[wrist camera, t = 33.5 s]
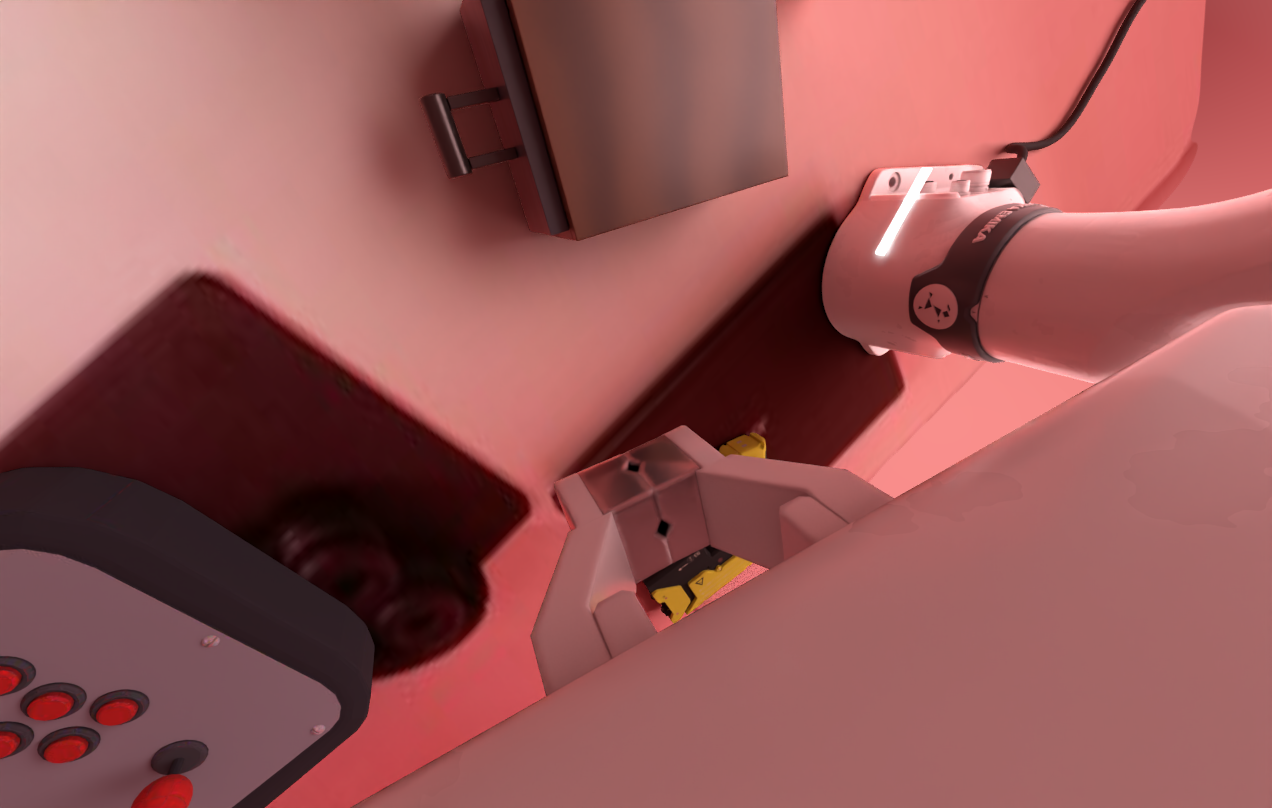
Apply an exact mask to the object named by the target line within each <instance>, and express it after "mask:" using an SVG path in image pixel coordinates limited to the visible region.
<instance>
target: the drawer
mask: <svg viewBox="0 0 1272 808" xmlns="http://www.w3.org/2000/svg"><path fill="white" fill-rule="evenodd" d="M460 14H461V17H462V20H463V23H464V26H465V29H466V33H467V36H468V39H469V42H470V45H471V48H472V51H473V54H474V58H475V61H476V64H477V67H478V70H479V73H480V76H481V79H482V83H483V86H484V89H483V90H478V91H474V92H469V93H464V94H459V95H454V96H449V97H447V98H446V96H445V94H443V93H435V94H430V95H426V96H423V97H421V98H420V99H419V102H420V104H421V107H422V110H423V112H424V115H425V117H426V120H427V123H428V125H429V128H430V131H431V133H432V136H433V139H434V141H435V144H436V147H437V149H438V152H439V154H440V157H441V160H442V162H443V165H444V168H445V170H446V173H447V176H448V178H449V179H454V178H458V177H462V176H466V175H470V174H472V170H473V169H477V168H481V167H485V166H489V165H493V164H497V163H501V162H505V161H508V164H509V167H510V170H511V173H512V176H513V180H514V183H515V186H516V189H517V192H518V195H519V198H520V201H521V205H522V208H523V211H524V214H525V217H526V220H527V223H528V226H529V230H530V231H531V232H536V233H541V234H546V235H551V236H552V235H556V234H559V233H562V232H566V231H569V226H568V223H567V219H566V216H565V212H564V211H565V208H564V205H563V201H562V197H561V194H560V190H559V187H558V183H557V180H556V176H555V173H554V169H553V165H552V162H551V158H550V155H549V151H548V148H547V144H546V140H545V137H544V133H543V130H542V126H541V123H540V119H539V116H538V112H537V108H536V105H535V101H534V98H533V94H532V91H531V87H530V83H529V80H528V76H527V73H526V69H525V66H524V62H523V59H522V55H521V51H520V48H519V44H518V41H517V37H516V34H515V30H514V27H513V23H512V19H511V16H510V12H509V13H508V10H507V6H506V3H505V0H462V4H461V8H460ZM487 103H489V104H490V108H491V111H492V114H493V117H494V120H495V123H496V126H497V129H498V133H499V136H500V139H501V142H502V145H503V148H504V149H503V150H499V151H495V152H491V153H487V154H483V155H479V156H474V157H470V158H467V155H466V152H465V149H464V147H463V144H462V141H461V138H460V135H459V133H458V130H457V127H456V124H455V121H454V118H453V116H452V113H451V111H454V110H458V109H463V108H468V107H473V106H477V105H482V104H487Z"/></svg>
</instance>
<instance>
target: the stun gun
mask: <svg viewBox="0 0 1272 808" xmlns="http://www.w3.org/2000/svg"><path fill="white" fill-rule="evenodd" d="M719 452H720V453H721V454H722V455H724V456H725V457H726V456H728V455H730V454H735V455H742V456H749V457H757V458H764V459H767V457H766V442H765V439H764V438H763V437H761V436H760V435H758V434H756V433H750V435H749V436H747V435H742V436H740V437H738V438H736V439H733V440H731V441H729V442H727V443H726V446H725V445H722V446H721V447H720V449H719ZM751 564H752V562H750V561H747V560H745V559H742V558H740V557H737V556H735V555H732V554H729V553H727V552H724V551H722V550H719V549H717V548H714V547H712V546H711V544H710V545H708V546H706V547H704V548H702V549H700V550H698V551H696V552H694V553H692V554H690V555H688V556H686V557H684V558H682V559H680V560H678V561H676V562H674V563H672V564H670V565H669V566H667V567H665V568H663V569H662V570H660V571H658V572H656V573H654V574H653V575H651V576H649V577H647V578H646V579H644V580H642V581H643V582H644V584H645V585H646V587H647V588H648V590H649V593H650V594H651V595H650V596H651V598H652V599H654V600H656V601H657V602H658V603H661V605H662V606H661V611H662V612H663V613H665V615H666V616H669V618H670V619H671V621H672V622H673V623H676V622H677V621H678V620H680V619H681V617H682V616H683V614H684V612H685V613H686V614H687V615H688V614H689V613H690V612H692V611H693V610H694V609H695V608H697V607H698V606H699V605H700V604H702V603H703V601H704V600H707V599H708V598H709V597H711V596H712V595H713V594H714V593H716V592H717V591H718V590H719V589H721V588H722V587H723V586H724V585H726V584H727V583H728V582H730V581H731V580H732V579H733V578H735V577H736V576H737V575H738V574H740V573H741V572H742V571H743V570H745V569H746V568H747V566H750V565H751Z"/></svg>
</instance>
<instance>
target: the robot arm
mask: <svg viewBox="0 0 1272 808" xmlns="http://www.w3.org/2000/svg"><path fill="white" fill-rule="evenodd" d="M1145 2H1146V0H1136V2H1135V3H1134V5H1133V6H1132V8H1131V9H1130V11H1129V13H1128V14H1127V16H1126V18H1125V20H1124V21H1123V23H1122V25H1121V27H1120V29H1119V31H1118V33H1117V35H1116V37H1115V39H1114V41H1113V43H1112V45H1111V47H1110V49H1109V51H1108V53H1107V55H1106V57H1105V58H1104V60H1103V62H1102V64H1101V66H1100V67H1099V69H1098V71H1097V72H1096V74H1095V76H1094V77H1093V79H1092V81H1091V82H1090V84H1089V86H1088V87H1087V89H1086V91H1085V93H1084V94H1083V96H1082V98H1081V100H1080V102H1079V103H1078V105H1077V107H1076V108H1075V110H1074V111H1073V113H1072V115H1071V116H1070V117H1069V119H1068V120H1067V122H1066V123H1065V124H1064V125H1063V126H1062V127H1061V128H1060V129H1059V130H1058V131H1057V132H1056V133H1055V134H1054V135H1052V136H1051V137H1050V138H1048V139H1045V140H1042V141H1038V142H1028V143H1012V144H1010V145H1008V146H1007V147H1006V150H1005V151H1006V152H1007V153H1016V154H1017V158H1008V159H995V160H992V161H991V162H990V164H989V166H988V167H987V169H984V168H983V167H982V166H981V165H946V166H921V167H897V168H878V169H875V170H874V171H873V172H872V173H871V174H870V175H869V177H868V179H867V181H866V183H865V186H864V188H863V190H862V193H861V196H860V198H859V201H858V203H857V204H856V206H855V207H854V209H853V210H852V211H851V213H850V214H849V215H848V217H847V218H846V219H845V220H844V222H843V223H842V225H841V226H840V228H839V229H838V231H837V233H836V235H835V237H834V239H833V241H832V243H831V246H830V248H829V251H828V254H827V257H826V261H825V265H824V270H823V277H822V298H823V304H824V308H825V312H826V314H827V317H828V319H829V321H830V322H831V324H832V325H833V327H834V328H835V329H836V330H837V331H838V332H840V333H841V334H842V335H844V336H846V337H849V338H852V339H855V340H857V341H858V342H860V344H861V345H862V347H863V348H864V349H865V350H866V352H868V353H869V354H872V355H877V356H880V355H883V354H884V353H886V352H887V351H888V350H895V351H900V352H904V353H909V354H915V355H920V356H925V357H930V358H936V359H940V358H944V357H945V356H946V355H949V354H951V353H954V354H958V355H961V356H964V357H965V358H969V359H973V360H978V361H980V360H981V361H988V362H993V363H1000V362H1005V361H1008V362H1012V363H1016V364H1020V365H1024V366H1028V367H1032V368H1036V369H1039V370H1043V371H1047V372H1051V373H1055V374H1059V375H1063V376H1067V377H1071V378H1075V379H1079V380H1083V381H1087V382H1091V383H1095V385H1093V386H1091V387H1089V388H1088V389H1086V390H1084V391H1082V392H1081V393H1079V394H1077V395H1075V396H1074V397H1072V398H1070V399H1068V400H1066V401H1065V402H1063V403H1061V404H1059V405H1058V406H1056V407H1054V408H1052V409H1051V410H1049V411H1047V412H1045V413H1044V414H1042V415H1040V416H1038V417H1037V418H1035V419H1033V420H1031V421H1030V422H1028V423H1026V424H1024V425H1022V426H1021V427H1019V428H1017V429H1015V430H1014V431H1012V432H1010V433H1008V434H1007V435H1005V436H1003V437H1001V438H1000V439H998V440H996V441H994V442H993V443H991V444H989V445H987V446H986V447H984V448H982V449H980V450H979V451H977V452H975V453H973V454H972V455H970V456H968V457H967V458H965V459H963V460H961V461H959V462H958V463H956V464H954V465H952V466H951V467H949V468H947V469H945V470H944V471H942V472H940V473H938V474H937V475H935V476H933V477H932V478H930V479H928V480H926V481H924V482H923V483H921V484H919V485H917V486H916V487H914V488H912V489H910V490H908V491H907V492H905V493H903V494H901V495H900V496H898V497H896V498H892V497H891V496H889V495H888V494H886V493H884V492H883V491H881V490H879V489H878V488H876V487H874V486H873V485H871V484H869V483H868V482H866V481H865V480H863V479H861V478H860V477H858V476H856V475H855V474H853V473H851V472H850V471H848V470H846V469H838V468H831V467H824V466H816V465H809V464H801V463H794V462H787V461H779V460H772V459H764V458H757V457H749V456H742V455H735V454H730V455H728V456H726V457H725V456H724V455H722V454H721V453H720V452H718V451H717V450H716V449H715V448H713V447H712V446H711V445H710V444H708V443H707V442H706V441H705V440H703V439H702V438H701V437H699V436H698V435H697V434H696V433H694V432H693V431H692V430H691V429H689V428H688V427H687V426H680V427H678V428H676V429H674V430H672V431H670V432H668V433H666V434H664V435H662V436H660V437H658V438H656V439H654V440H652V441H649V442H647V443H645V444H643V445H641V446H639V447H637V448H635V449H633V450H630V451H628V452H626V453H624V454H620V455H618V456H616V457H613V458H611V459H608V460H606V461H604V462H601V463H599V464H597V465H594V466H592V467H589V468H587V469H585V470H582V471H580V472H578V473H577V474H576V473H575V474H573V475H570V476H568V477H566V478H564V479H562V480H559V481H557V482H555V483H553V484H554V488H555V491H556V493H557V496H558V499H559V501H560V504H561V506H562V509H563V512H564V514H565V517H566V519H567V522H568V524H569V527H570V529H571V531H570V532H568V535H567V538H566V541H565V543H564V546H563V549H562V551H561V554H560V557H559V560H558V562H557V565H556V568H555V570H554V573H553V576H552V579H551V581H550V584H549V587H548V589H547V592H546V595H545V598H544V600H543V603H542V606H541V609H540V611H539V614H538V617H537V619H536V622H535V625H534V628H533V630H532V633H531V640H532V643H533V647H534V651H535V655H536V659H537V663H538V666H539V670H540V674H541V678H542V682H543V685H544V689H545V693H546V697H544V698H542V699H541V700H539V701H537V702H535V703H534V704H532V705H530V706H528V707H527V708H525V709H523V710H521V711H520V712H518V713H516V714H514V715H513V716H511V717H509V718H507V719H505V720H504V721H502V722H500V723H498V724H497V725H495V726H493V727H491V728H490V729H488V730H486V731H484V732H483V733H481V734H479V735H477V736H476V737H474V738H472V739H470V740H469V741H467V742H465V743H463V744H462V745H460V746H458V747H456V748H454V749H453V750H451V751H449V752H447V753H446V754H444V755H442V756H440V757H439V758H437V759H435V760H433V761H432V762H430V763H428V764H426V765H425V766H423V767H421V768H419V769H418V770H416V771H414V772H412V773H410V774H409V775H407V776H405V777H403V778H402V779H400V780H398V781H396V782H395V783H393V784H391V785H389V786H388V787H386V788H384V789H382V790H381V791H379V792H377V793H375V794H374V795H372V796H370V797H368V798H366V799H365V800H363V801H361V802H359V803H358V804H356V805H354V806H352V807H351V808H1272V189H1269V190H1266V191H1263V192H1260V193H1256V194H1253V195H1249V196H1244V197H1241V198H1236V199H1232V200H1228V201H1223V202H1218V203H1213V204H1208V205H1202V206H1194V207H1186V208H1177V209H1164V210H1151V211H1133V212H1109V213H1064V212H1063V211H1061V210H1059V209H1057V208H1052V207H1048V206H1045V205H1041V204H1033V203H1029V202H1030V201H1031V199H1032V197H1033V196H1034V194H1035V192H1036V191H1037V189H1038V188H1039V186H1040V183H1039V182H1038V180H1037V179H1036V177H1035V176H1034V174H1033V172H1032V171H1031V169H1030V168H1029V166H1028V165H1027V163H1026V159H1027V156H1028V151H1031V150H1038V149H1042V148H1045V147H1047V146H1049V145H1051V144H1053V143H1055V142H1057V141H1058V140H1059V139H1061V138H1062V137H1063V136H1064V135H1065V134H1066V133H1067V132H1068V131H1069V130H1070V129H1071V127H1072V126H1073V125H1074V124H1075V122H1076V121H1077V119H1078V118H1079V116H1080V115H1081V113H1082V112H1083V110H1084V108H1085V107H1086V105H1087V103H1088V102H1089V100H1090V98H1091V96H1092V95H1093V93H1094V91H1095V89H1096V88H1097V86H1098V84H1099V83H1100V81H1101V79H1102V78H1103V76H1104V74H1105V73H1106V71H1107V69H1108V68H1109V66H1110V64H1111V62H1112V61H1113V59H1114V57H1115V55H1116V53H1117V51H1118V49H1119V47H1120V45H1121V43H1122V41H1123V39H1124V37H1125V35H1126V33H1127V31H1128V30H1129V28H1130V26H1131V24H1132V22H1133V20H1134V19H1135V17H1136V15H1137V14H1138V12H1139V10H1140V9H1141V7H1142V6H1143V4H1144V3H1145ZM710 544H711V546H712V547H714V548H717V549H719V550H722V551H724V552H727V553H729V554H732V555H735V556H737V557H740V558H742V559H745V560H747V561H750V562H752V563H755V564H757V565H760V566H763V567H765V568H768V569H769V570H767V571H766V572H764V573H762V574H760V575H759V576H757V577H755V578H753V579H752V580H750V581H748V582H746V583H745V584H743V585H741V586H739V587H738V588H736V589H734V590H732V591H731V592H729V593H727V594H725V595H723V596H722V597H720V598H718V599H716V600H715V601H713V602H711V603H709V604H708V605H706V606H704V607H702V608H701V609H699V610H697V611H695V612H694V613H692V614H690V615H688V616H687V617H685V618H683V619H681V620H680V621H678V622H676V623H674V624H673V625H671V626H669V627H667V628H666V629H664V630H662V631H660V632H659V633H657V631H656V629H655V628H654V626H653V624H652V623H651V621H650V619H649V618H648V616H647V614H646V612H645V611H644V609H643V607H642V606H641V604H640V602H639V600H638V599H637V597H636V584H637V583H639V582H640V581H642V580H644V579H646V578H647V577H649V576H651V575H653V574H654V573H656V572H658V571H660V570H662V569H663V568H665V567H667V566H669V565H670V564H672V563H674V562H676V561H678V560H680V559H682V558H684V557H686V556H688V555H690V554H692V553H694V552H696V551H698V550H700V549H702V548H704V547H706V546H708V545H710Z"/></svg>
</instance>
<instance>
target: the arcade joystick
mask: <svg viewBox="0 0 1272 808" xmlns="http://www.w3.org/2000/svg"><path fill="white" fill-rule="evenodd" d="M373 661H374V643H373V640H372V638H371V636H370V633H369V631H368V628H367V626H366V624H365V623H364V622H363V621H362V620H361V619H360V618H359V617H358V616H357V615H356V614H355V613H354V612H353V611H351V610H350V609H349V608H348V607H347V606H346V605H344V604H343V603H341V602H340V601H338V600H337V599H335V598H333V597H332V596H330V595H329V594H327V593H326V592H324V591H323V590H321V589H319V588H318V587H316V586H315V585H313V584H312V583H310V582H308V581H307V580H305V579H304V578H302V577H301V576H299V575H297V574H296V573H294V572H293V571H291V570H290V569H288V568H287V567H285V566H283V565H282V564H280V563H279V562H277V561H276V560H274V559H272V558H271V557H269V556H268V555H266V554H265V553H263V552H262V551H260V550H258V549H257V548H255V547H254V546H252V545H251V544H249V543H247V542H246V541H244V540H243V539H241V538H240V537H238V536H236V535H235V534H233V533H232V532H230V531H229V530H227V529H226V528H224V527H222V526H221V525H219V524H218V523H216V522H215V521H213V520H211V519H210V518H208V517H207V516H205V515H204V514H202V513H201V512H199V511H197V510H196V509H194V508H193V507H191V506H190V505H188V504H186V503H185V502H183V501H182V500H179V499H177V498H175V497H173V496H171V495H169V494H167V493H164V492H162V491H160V490H158V489H156V488H154V487H152V486H149V485H147V484H145V483H143V482H140V481H138V480H134V479H130V478H125V477H121V476H117V475H113V474H108V473H104V472H100V471H95V470H91V469H86V468H80V467H30V468H20V469H16V470H12V471H8V472H4V473H0V808H265V807H266V806H267V805H268V804H270V803H271V802H272V801H273V800H274V799H276V798H277V797H278V796H279V795H280V794H282V793H283V792H284V791H285V790H286V789H288V788H289V787H290V786H291V785H292V784H294V783H295V782H296V781H297V780H298V779H300V778H301V777H302V776H303V775H304V774H306V773H307V772H308V771H309V770H310V769H312V768H313V767H314V766H315V765H316V764H318V763H319V762H320V761H321V760H322V759H323V758H325V757H326V756H327V755H328V754H329V753H331V752H332V751H333V750H334V749H335V748H337V747H338V746H339V745H340V744H341V743H343V742H344V741H345V740H346V739H347V738H349V737H350V736H351V735H352V734H353V733H355V732H356V731H357V730H358V729H359V727H360V726H361V724H362V723H363V722H364V720H365V719H366V717H367V714H368V709H369V703H370V696H371V686H372V673H373Z"/></svg>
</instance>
